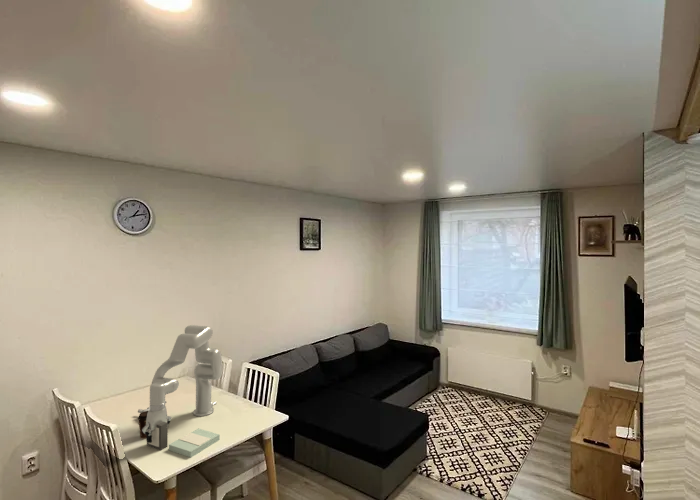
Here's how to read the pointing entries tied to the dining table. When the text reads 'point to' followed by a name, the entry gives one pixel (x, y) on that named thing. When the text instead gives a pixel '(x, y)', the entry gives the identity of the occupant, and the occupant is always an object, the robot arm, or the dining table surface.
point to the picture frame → (159, 436)
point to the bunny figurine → (143, 410)
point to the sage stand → (194, 442)
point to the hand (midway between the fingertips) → (157, 438)
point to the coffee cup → (142, 423)
